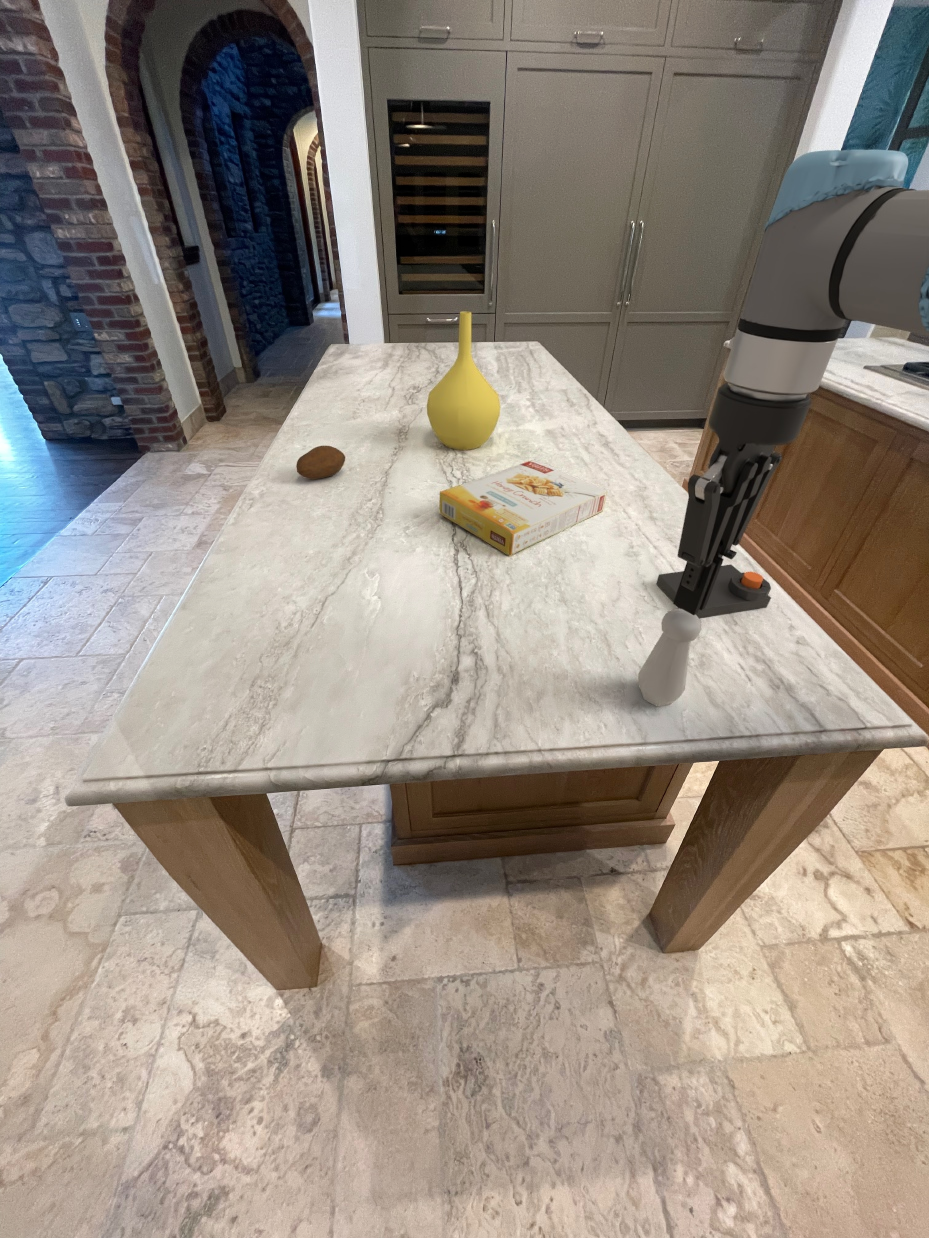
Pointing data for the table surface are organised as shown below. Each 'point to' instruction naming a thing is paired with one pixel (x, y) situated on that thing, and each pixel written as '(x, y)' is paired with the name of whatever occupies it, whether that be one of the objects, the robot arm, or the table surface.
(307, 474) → the potato
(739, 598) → the scale
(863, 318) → the robot arm
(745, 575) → the button
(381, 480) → the table surface
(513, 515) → the cereal box
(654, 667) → the salt shaker
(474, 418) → the vase
